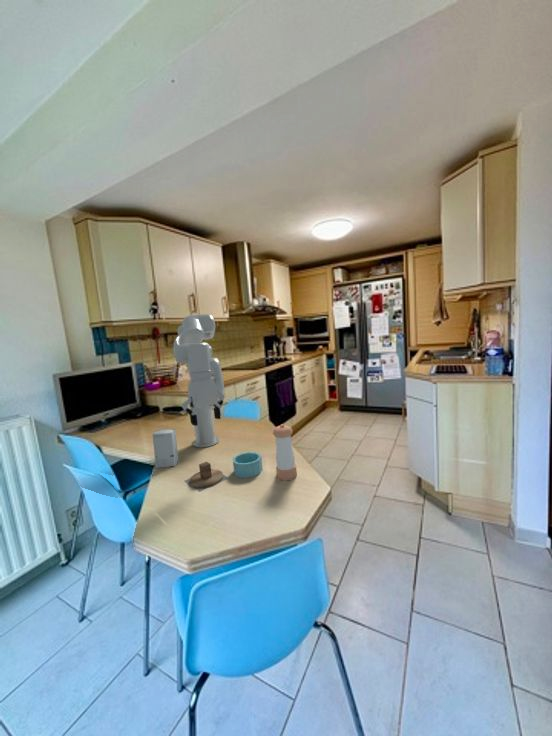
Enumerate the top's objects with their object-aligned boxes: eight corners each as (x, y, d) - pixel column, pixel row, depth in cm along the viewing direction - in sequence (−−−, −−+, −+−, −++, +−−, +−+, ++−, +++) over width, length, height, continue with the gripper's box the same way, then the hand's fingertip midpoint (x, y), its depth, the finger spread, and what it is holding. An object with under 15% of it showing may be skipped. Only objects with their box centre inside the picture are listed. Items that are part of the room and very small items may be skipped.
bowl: (228, 472, 117) (227, 459, 116) (250, 463, 124) (249, 450, 123) (245, 481, 109) (243, 466, 108) (268, 470, 116) (266, 456, 115)
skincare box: (155, 468, 127) (150, 434, 125) (160, 462, 133) (156, 429, 131) (176, 466, 127) (171, 432, 125) (180, 460, 133) (175, 427, 131)
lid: (184, 480, 113) (182, 465, 112) (212, 469, 121) (210, 454, 120) (199, 491, 104) (197, 475, 103) (229, 478, 112) (227, 462, 111)
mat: (184, 481, 113) (184, 480, 113) (212, 469, 121) (212, 469, 121) (199, 492, 104) (199, 491, 104) (229, 479, 112) (229, 478, 112)
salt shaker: (273, 474, 112) (268, 424, 110) (291, 468, 115) (286, 420, 113) (281, 482, 106) (276, 429, 103) (300, 476, 109) (295, 424, 106)
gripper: (215, 373, 121) (220, 415, 122) (174, 379, 109) (180, 426, 110) (226, 373, 115) (231, 417, 116) (183, 380, 103) (190, 429, 105)
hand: (206, 421), depth 113 cm, fingers open, 9 cm apart
